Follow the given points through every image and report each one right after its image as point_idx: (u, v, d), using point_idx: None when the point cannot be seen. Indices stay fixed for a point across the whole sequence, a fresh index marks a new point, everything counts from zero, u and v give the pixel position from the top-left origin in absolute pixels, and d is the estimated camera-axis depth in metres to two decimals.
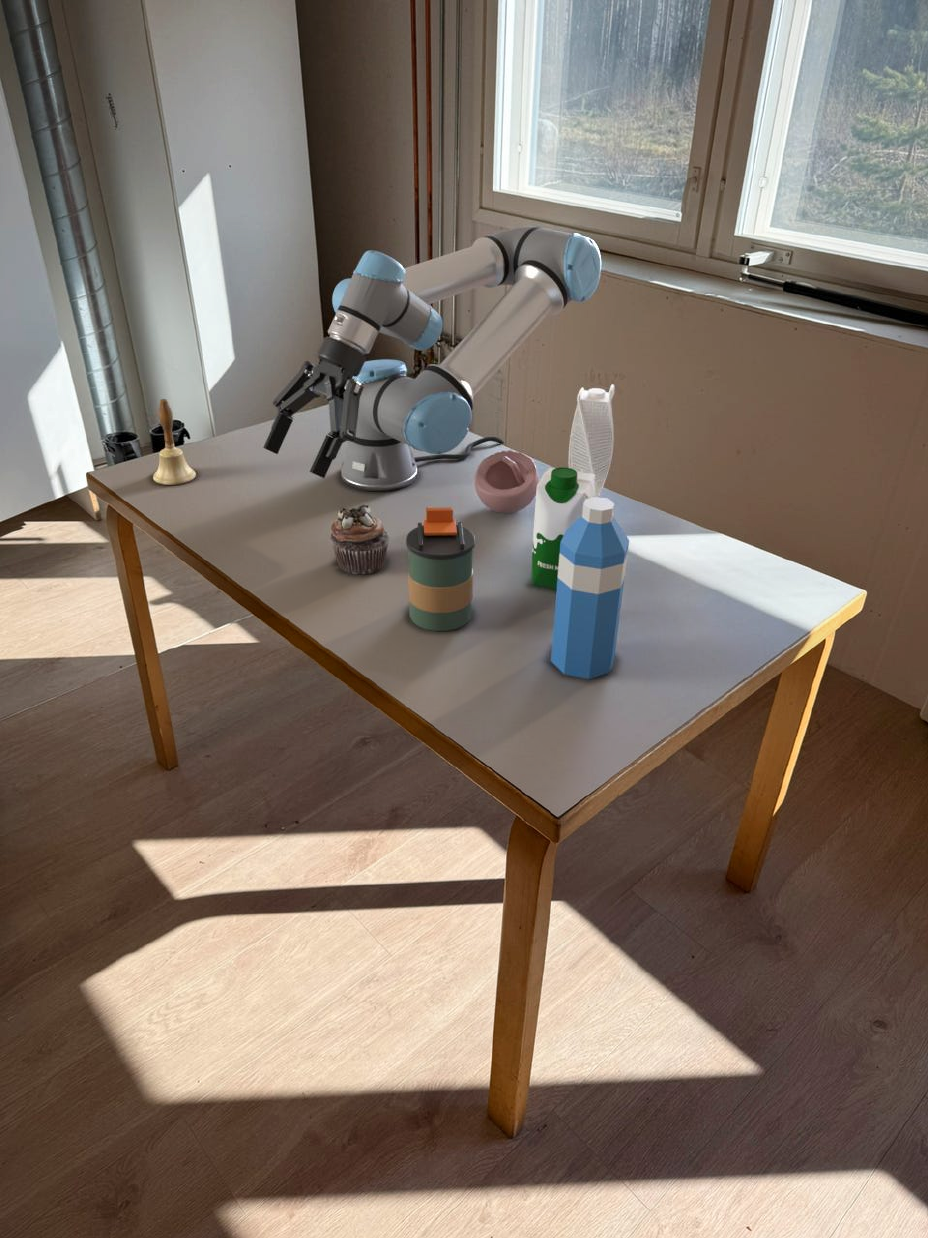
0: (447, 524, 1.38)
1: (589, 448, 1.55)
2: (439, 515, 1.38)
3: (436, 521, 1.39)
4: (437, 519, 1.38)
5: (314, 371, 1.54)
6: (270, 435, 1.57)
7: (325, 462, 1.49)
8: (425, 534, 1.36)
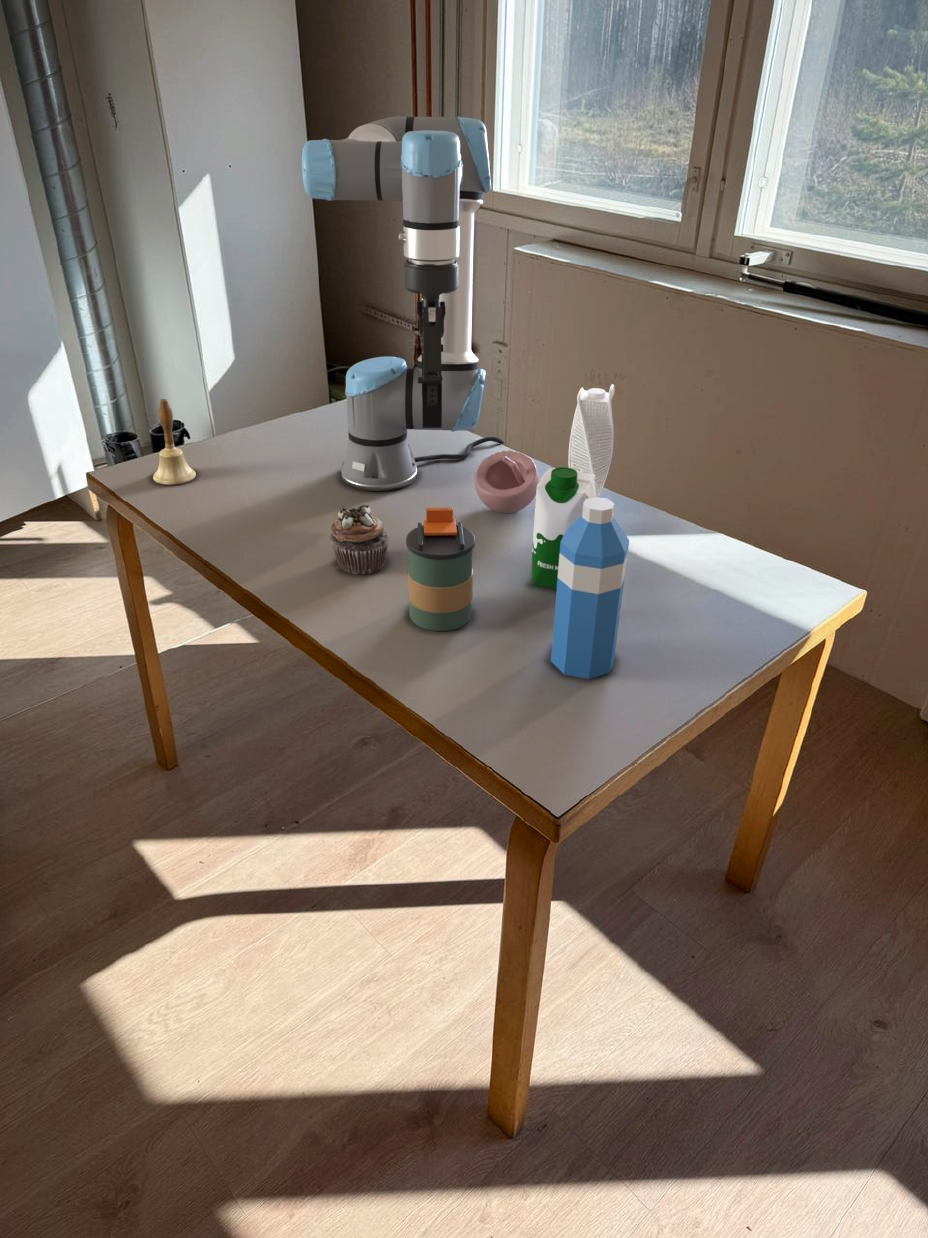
0: (447, 524, 1.38)
1: (589, 448, 1.55)
2: (439, 515, 1.38)
3: (436, 521, 1.39)
4: (437, 519, 1.38)
5: None
6: None
7: (433, 411, 1.29)
8: (425, 534, 1.36)
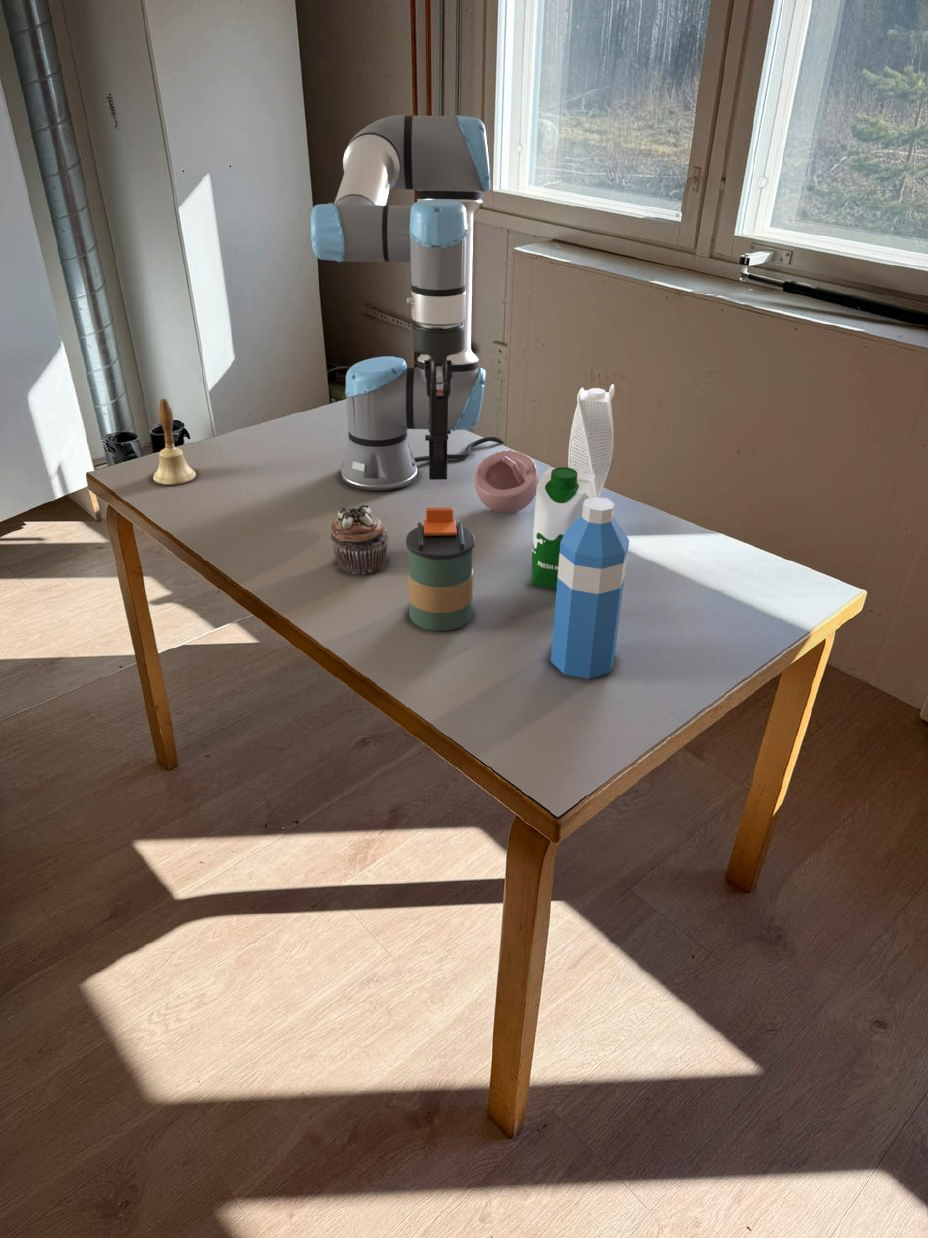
0: (447, 524, 1.38)
1: (589, 448, 1.55)
2: (439, 515, 1.38)
3: (436, 521, 1.39)
4: (437, 519, 1.38)
5: None
6: None
7: (439, 464, 1.40)
8: (425, 534, 1.36)
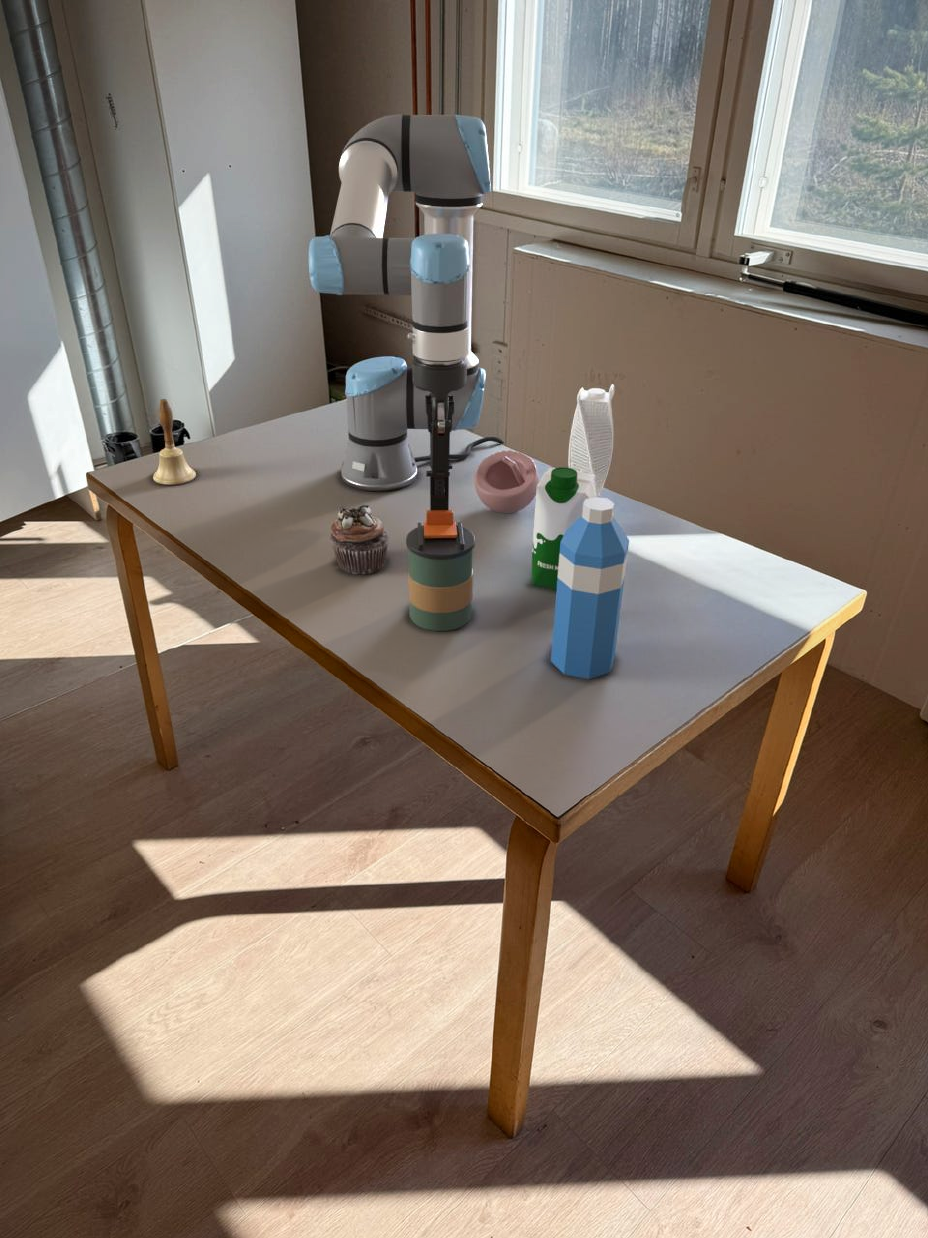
0: (447, 526, 1.37)
1: (589, 448, 1.55)
2: (439, 518, 1.37)
3: (436, 523, 1.38)
4: (437, 522, 1.38)
5: None
6: None
7: (441, 500, 1.37)
8: (425, 536, 1.35)
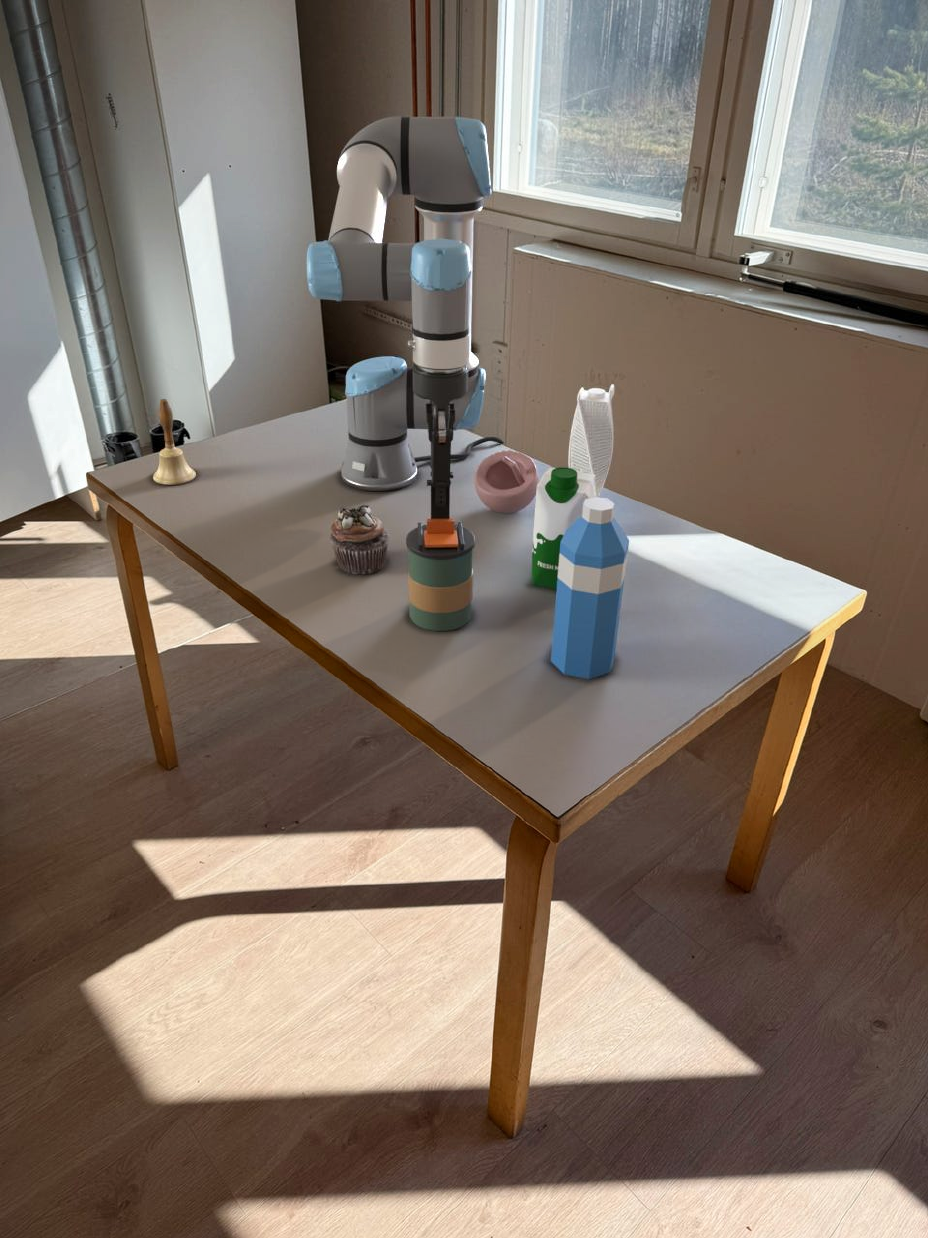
0: (448, 535, 1.35)
1: (589, 448, 1.55)
2: (440, 526, 1.35)
3: (436, 532, 1.35)
4: (438, 530, 1.35)
5: None
6: None
7: (441, 509, 1.35)
8: (426, 546, 1.33)
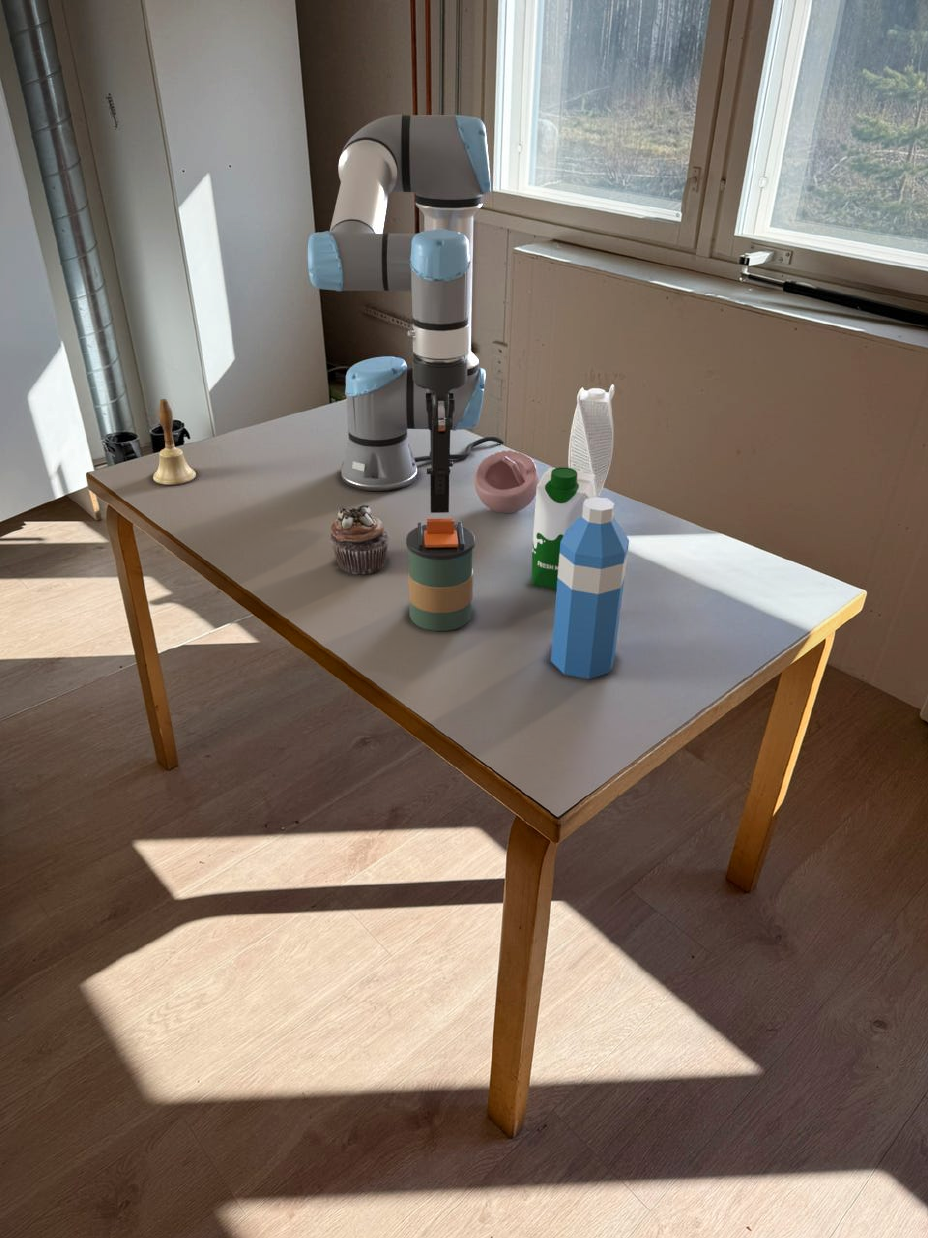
0: (448, 535, 1.35)
1: (589, 448, 1.55)
2: (440, 526, 1.35)
3: (436, 532, 1.35)
4: (438, 530, 1.35)
5: None
6: None
7: (441, 498, 1.36)
8: (426, 546, 1.33)
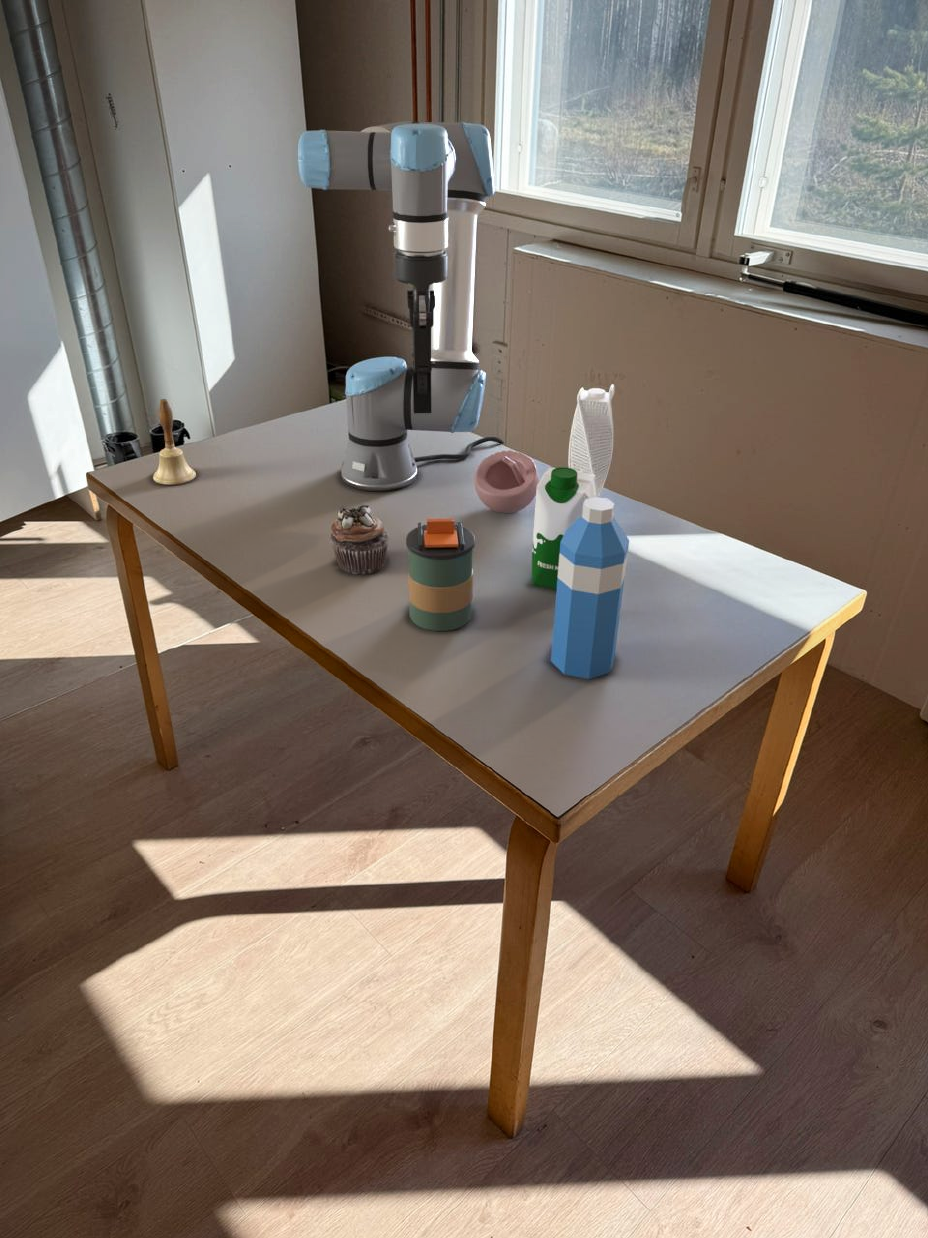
0: (448, 535, 1.35)
1: (589, 448, 1.55)
2: (440, 526, 1.35)
3: (436, 532, 1.35)
4: (438, 530, 1.35)
5: None
6: None
7: (423, 398, 1.40)
8: (426, 546, 1.33)
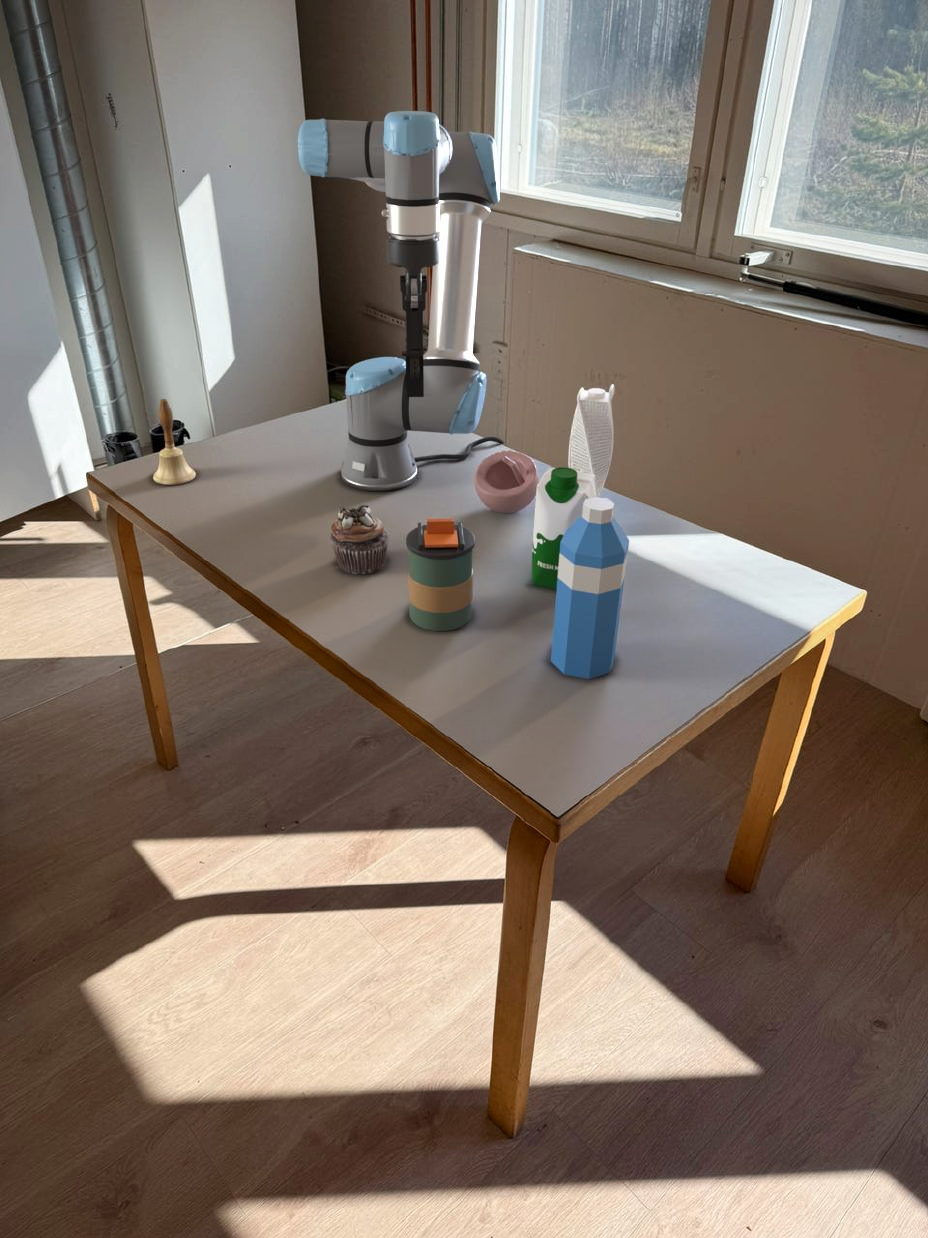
0: (448, 535, 1.35)
1: (589, 448, 1.55)
2: (440, 526, 1.35)
3: (436, 532, 1.35)
4: (438, 530, 1.35)
5: None
6: None
7: (416, 381, 1.42)
8: (426, 546, 1.33)
